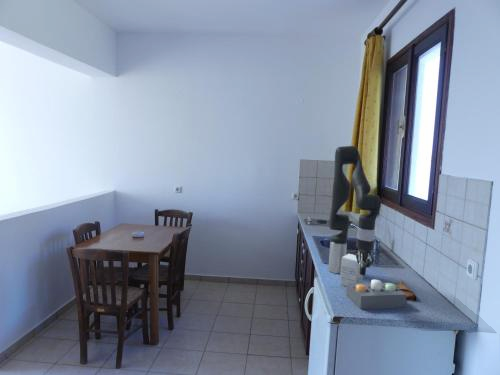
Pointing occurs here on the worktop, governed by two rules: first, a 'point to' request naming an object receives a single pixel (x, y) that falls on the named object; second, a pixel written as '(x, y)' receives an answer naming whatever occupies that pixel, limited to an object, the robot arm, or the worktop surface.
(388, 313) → the worktop surface
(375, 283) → the white egg-shaped piece
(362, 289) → the beige rounded piece
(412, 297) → the sunglasses case
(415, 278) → the worktop surface
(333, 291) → the worktop surface
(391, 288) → the mint green oval piece
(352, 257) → the supplement box
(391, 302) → the grey holder tray
